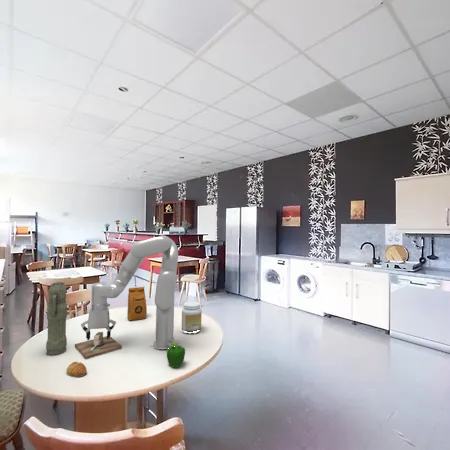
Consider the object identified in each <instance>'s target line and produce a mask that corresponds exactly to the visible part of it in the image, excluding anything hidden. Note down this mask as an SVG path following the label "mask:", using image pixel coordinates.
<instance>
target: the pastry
mask: <svg viewBox="0 0 450 450" xmlns="http://www.w3.org/2000/svg"><path fill="white" fill-rule="evenodd" d="M87 372H88V370H87V367H86V366H85V364H84V363H83V362H78V361H74V362H71V363H70V364H69V365H68V366H67V368H66V373H67V375H69V376H70V377H74V378H81V377H82V376H85V375H86V374H87Z"/></svg>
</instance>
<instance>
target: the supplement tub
mask: <svg viewBox="0 0 450 450" xmlns="http://www.w3.org/2000/svg"><path fill="white" fill-rule="evenodd" d="M182 307H183V308H182V309H181V310H182V311H181V331H182V330H183V331H187V332H193V331H197V330H200V329H201V330H202V307H201V303H200V302H198V301H187V302H184V303H183V306H182Z"/></svg>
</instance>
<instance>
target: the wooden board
mask: <svg viewBox="0 0 450 450" xmlns="http://www.w3.org/2000/svg"><path fill="white" fill-rule="evenodd" d="M103 341H104V345H102V346H99V347H95V348H94V349H93V350H92V351H91V349H92V348H93V347H94V346H93V342H94V338H93V339H91V340H90V339H89V340H86V341H82V342H79V343H74V348H75V349H76V350H77V352H79V354H80V355H81V356H82V357H83V358H84V359H85V360H88V359H91V358H95V357H98V356H102V355H105V354H108V353H111V352H116V351H119V350H121V349H123V345H122V344H120V343H119V342H118V341H117V340H116V339H114V337H112V336H110V337H109V339H107V335H106V336H103Z"/></svg>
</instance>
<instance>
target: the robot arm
mask: <svg viewBox="0 0 450 450" xmlns="http://www.w3.org/2000/svg"><path fill="white" fill-rule="evenodd" d="M157 254H162V258H161V266H160V267H161V268H160V272H159V274H158V275H157V279H156V286H155V294H154V304H155V307H156V308H155V309H156V312H155V340H154V341H153V342H152V348H153V347H154V348H153V349H154V350H157V349H168V348H170V347H171V346H174V345H171V343H175V344H176V345H177V341H176V340H175V338H174V332H175V331H174V330H175V328H174V326H175V324H174V323H175V322H174V321H175V320H174V319H175V293H176V292H175V291H176V285H177V276H178V275H177V273H178V272H177V270H178V262H179V261H178V260H179V250H178V246H177V244H176V243H175V241H174V240H173V239H172V238H170V237H169V236H167V235H158V236H155V237H151V238H149V239H146V240H139V241H135V242H133V244H132V245H131V247H130V251H129V252H128V254H127V255H126V257H125V258H124V260H123V261H122V263H121V266H120V270H119V272H118V274H117V275H116V276H115V278H114V279H113V281H112V282H111V283H109V284H107V283H106V282H95V283H93V284H92V285H91V300H90V301H91V306H90V307H91V308H90V309H89V313H88V318H87V319H88V320H85V321H83V322H82V323H80V326H81V328H82V330H83V331H84V332H85V333H86V336H85V338H86V341H89V340H90V339H91V330H97V329H98V330H99V329H100V330H101V329H106V330H107V332H106V336H107V339H109V337H112V336H111V335H112V334H111V332H112V330H113V329H114V327H115V326H116V324H117V321H115V320H114V319H111V318H110V317H111V316H110V310H109V307H110V305H111V304H110V303H108V299H116V298H118V297H119V296H120V295H121V294H122V293H123V292H124V290H125V289H126V287H127V286H128V284H129V282H130V281H131V279H132V278H133V277H134V275H135V274H136V272H137V270H138V269H139V267H140V266H141V264H142V263H143V261H144V260H145V259H146V258H147V257H151V256H154V255H157ZM110 324H112V325H111V326H110ZM86 325H87V326H86Z"/></svg>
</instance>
